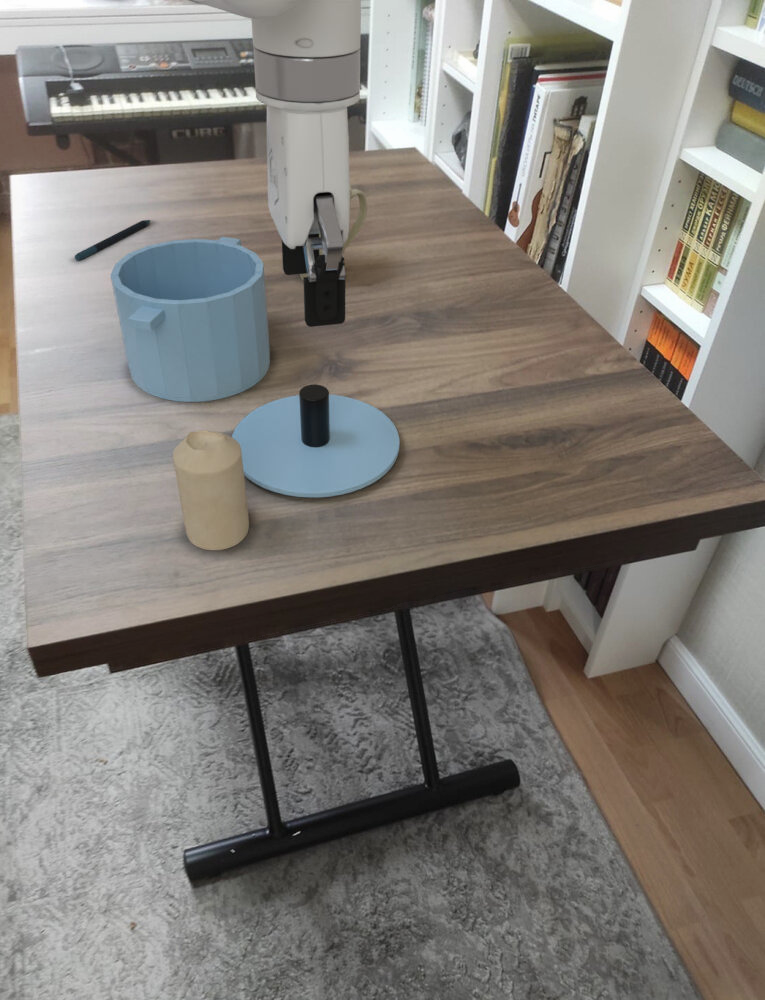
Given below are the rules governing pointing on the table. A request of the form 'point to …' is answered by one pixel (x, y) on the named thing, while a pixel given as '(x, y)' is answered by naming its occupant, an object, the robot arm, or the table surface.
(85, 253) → the pen
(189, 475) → the candle
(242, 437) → the lid
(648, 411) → the table surface
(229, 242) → the pot
